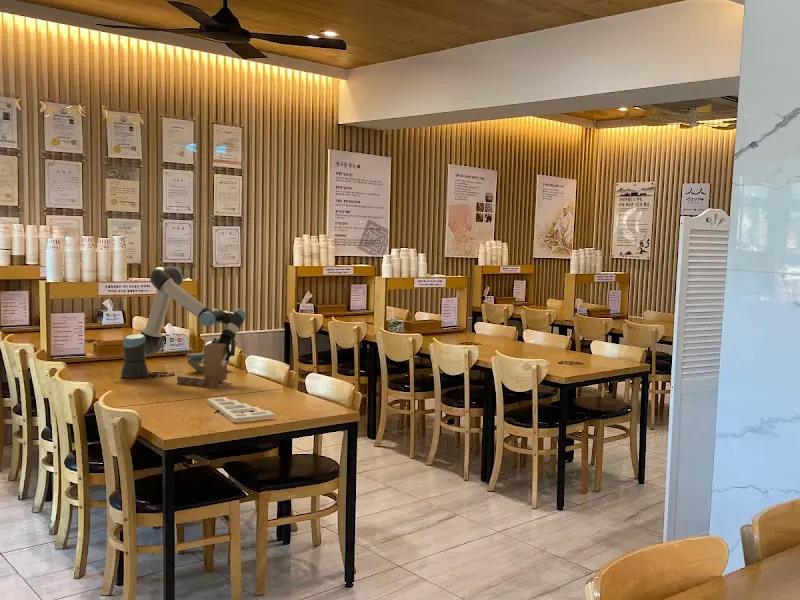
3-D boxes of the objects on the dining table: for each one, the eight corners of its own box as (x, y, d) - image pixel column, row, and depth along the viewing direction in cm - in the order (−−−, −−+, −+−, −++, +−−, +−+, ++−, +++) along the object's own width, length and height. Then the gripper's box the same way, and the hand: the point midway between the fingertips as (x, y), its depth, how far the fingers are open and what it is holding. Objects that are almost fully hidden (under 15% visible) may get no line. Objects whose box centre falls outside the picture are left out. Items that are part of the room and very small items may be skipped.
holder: (206, 404, 352) (206, 398, 352) (243, 400, 361) (243, 395, 360) (234, 424, 313) (234, 418, 312) (274, 420, 321) (274, 414, 321)
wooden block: (227, 379, 406) (227, 343, 404) (221, 382, 396) (221, 345, 394) (209, 378, 406) (209, 342, 405) (203, 382, 396) (203, 345, 395)
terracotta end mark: (199, 384, 398) (199, 383, 398) (213, 380, 409) (213, 380, 409) (219, 386, 393) (219, 385, 393) (232, 382, 404) (232, 382, 404)
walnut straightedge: (177, 383, 399) (177, 376, 399) (180, 382, 402) (180, 375, 402) (215, 387, 389) (214, 380, 389) (218, 386, 392) (218, 379, 392)
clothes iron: (191, 374, 430) (191, 355, 429) (185, 372, 436) (185, 353, 435) (230, 370, 445) (230, 352, 444) (225, 368, 451) (225, 350, 451)
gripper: (250, 338, 409) (234, 370, 396) (214, 336, 418) (197, 366, 405) (244, 330, 403) (228, 361, 390) (208, 327, 413) (191, 358, 400)
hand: (212, 364), depth 398 cm, fingers closed on wooden block, 12 cm apart
